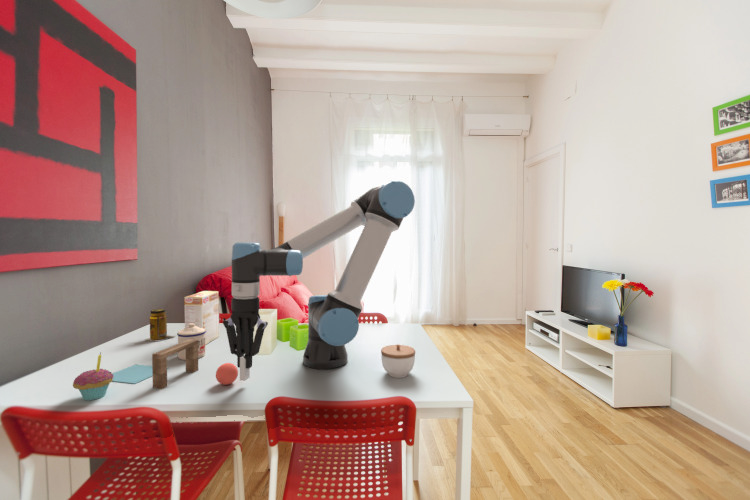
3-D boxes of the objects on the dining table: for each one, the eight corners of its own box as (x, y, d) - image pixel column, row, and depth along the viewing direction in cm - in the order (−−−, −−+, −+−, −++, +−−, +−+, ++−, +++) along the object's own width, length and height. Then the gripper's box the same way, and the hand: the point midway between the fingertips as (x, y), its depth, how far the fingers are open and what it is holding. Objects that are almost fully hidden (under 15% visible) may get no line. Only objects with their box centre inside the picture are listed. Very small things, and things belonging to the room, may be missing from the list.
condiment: (145, 339, 153) (144, 310, 152) (165, 334, 160) (164, 307, 160) (156, 342, 149) (155, 312, 149) (176, 337, 157) (175, 308, 156)
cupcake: (120, 390, 104) (119, 347, 103) (99, 403, 95) (98, 357, 95) (89, 390, 103) (88, 347, 103) (64, 404, 95) (63, 357, 94)
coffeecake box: (203, 336, 158) (203, 290, 157) (220, 336, 158) (219, 290, 157) (184, 347, 143) (183, 296, 142) (202, 347, 143) (201, 296, 142)
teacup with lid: (197, 361, 128) (196, 327, 127) (171, 360, 128) (171, 326, 128) (214, 350, 139) (214, 319, 139) (191, 349, 140) (191, 318, 140)
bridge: (198, 370, 119) (198, 340, 119) (161, 388, 105) (161, 354, 104) (190, 369, 120) (189, 339, 119) (152, 387, 105) (152, 353, 105)
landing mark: (169, 368, 120) (169, 367, 120) (135, 384, 108) (135, 383, 108) (135, 364, 123) (135, 364, 123) (98, 379, 111) (98, 379, 111)
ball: (242, 380, 111) (242, 361, 110) (230, 389, 105) (229, 368, 105) (224, 379, 112) (224, 359, 112) (211, 387, 106) (211, 366, 106)
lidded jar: (375, 370, 121) (376, 341, 120) (405, 366, 124) (406, 338, 124) (388, 382, 111) (389, 351, 110) (421, 378, 114) (421, 347, 114)
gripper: (216, 297, 103) (216, 381, 104) (260, 300, 101) (258, 386, 102) (232, 293, 111) (231, 371, 112) (273, 296, 108) (271, 376, 109)
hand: (244, 378), depth 107 cm, fingers closed
